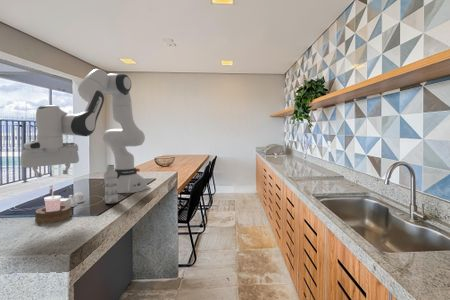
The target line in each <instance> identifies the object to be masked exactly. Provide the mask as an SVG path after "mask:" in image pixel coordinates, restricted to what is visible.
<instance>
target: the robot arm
mask: <svg viewBox="0 0 450 300" xmlns="http://www.w3.org/2000/svg"><path fill="white" fill-rule="evenodd" d="M131 88H132V80H131V79H130V77H129V75H127V74H125V73H107V72H106V71H105V70H103V69H101V68H95V69H93V70H91V71H90V72H89V73H87V74H86V76H85V77H84V78H83V79H82V81H80V83H79V84H78V87H77V92H78V94H79V96H80V97H81V99H83V100H84V102H87V105H86V107H85V110H84V111H82V112H80V113H67V112H65V111H64V110H62V109H61V108H60V106H59V105H56V104H49V105H46V104H45V105H41V106H38V107H37V108H36V112H35V126H36V129H37V135H36V139H35V140H32V141H28V142H25V143H24V144H23V148H24V149H23V150H22V151H21V153H20V154H21V155H20V166H21V167H23V168H25V169H29V168H32V170H33V171H34V173H35V174H36V178H37V179H38V178H42V177H43V174H42V172H39V171H38V169H39V167H40V168H41V167H48V166H57V165H58V166H59V165H65V168H64V169H63V170H62V174H63V175H68V172H69V171H68V170H69V169H70V167H71V164H78V163H79V162H80V156H79V152H78V151H79V146H78V144H77V143H75V142H64V140H63V139H64V137H63V136H79V137H80V136H81V137H89V136H91V135H92V134H93V133H94V132H95V130H96V125H97V120H98V117H99V115H100V112H101V110H102V108H103V106H104V101H105V95H106V94H108V95H111V96H112V97H111V102H112V103H111V106H112V107H111V108H112V118H113V121H114V122H116V123H118V124H120V127H121V128H112V129H111V128H110V129H106V130H105V131H104V133H103V135H102V140H103V142H104V144H105V145H106V146H108V147H109V148H110V150H111V151H112V154H113V156H114V168H115V169H114V170H115V171H116V173H117V194H133V193H137V192H141V191H145V190H149V189H151V185H149V184H147V180H146V178H145V177H143V176H142V175H140V174H139V173H138V172H140V171H141V169H140V168H135V157H134V154H132V153H131V152H130V151H128V149H127V148H126V147H139V146H141V145H143V144H144V142H145V140H146V137H145V133H144V132H143V130H141V129H140V128H139V127H138V126H137V124H136V123H135V120H134V115H133V105H132V97H131V93H130V91H131ZM104 94H105V95H104Z"/></svg>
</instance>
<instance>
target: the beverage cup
mask: <svg viewBox="0 0 450 300" xmlns="http://www.w3.org/2000/svg"><path fill="white" fill-rule="evenodd" d="M61 198H62V196H61V195H54V185H51V195H50V196H45V197H44V198H43V200H44V207H46V212H52V211H58V210H60V199H61Z"/></svg>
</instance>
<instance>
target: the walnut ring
mask: <svg viewBox="0 0 450 300" xmlns="http://www.w3.org/2000/svg"><path fill="white" fill-rule="evenodd" d="M72 211H73V210H72V207H71V206H70V205H66V204H60V210H58V211H52V212H46V206H43V207H39V208H37V209H36V210H35V211H34V215H35V216H34V217H35V222H37V223H38V224H39V223H40V224H50V223H57V222H61V221H65V220H66V219H69V218H71V217H72V215H73V214H72V213H73V212H72Z"/></svg>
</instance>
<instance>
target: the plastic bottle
mask: <svg viewBox="0 0 450 300" xmlns="http://www.w3.org/2000/svg"><path fill="white" fill-rule="evenodd" d="M105 169H106V171H104V174H103V180H104V187H105V189H104V191H105V192H104V198H103V199H104V203H106V204H109V205H110V204H111V205H113V204H115V203H118V201H119V193H117V173H116V171H115V164H106V168H105Z"/></svg>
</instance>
